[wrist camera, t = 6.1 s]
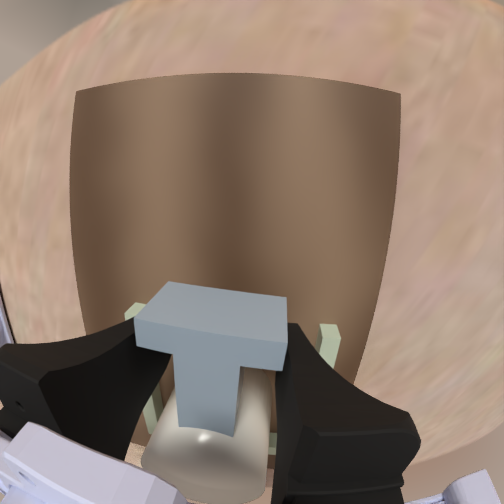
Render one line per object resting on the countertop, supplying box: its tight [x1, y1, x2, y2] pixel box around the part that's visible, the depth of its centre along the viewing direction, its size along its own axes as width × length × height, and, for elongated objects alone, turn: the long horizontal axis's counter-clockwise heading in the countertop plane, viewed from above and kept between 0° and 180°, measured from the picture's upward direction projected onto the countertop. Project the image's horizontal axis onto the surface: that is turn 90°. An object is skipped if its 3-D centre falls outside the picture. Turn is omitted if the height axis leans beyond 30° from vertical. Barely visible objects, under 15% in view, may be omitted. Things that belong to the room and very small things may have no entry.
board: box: [70, 73, 401, 469], centre depth 14 cm, size 15×23×1 cm, turn 176°
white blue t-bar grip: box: [134, 281, 288, 504], centre depth 11 cm, size 9×5×6 cm, turn 174°
